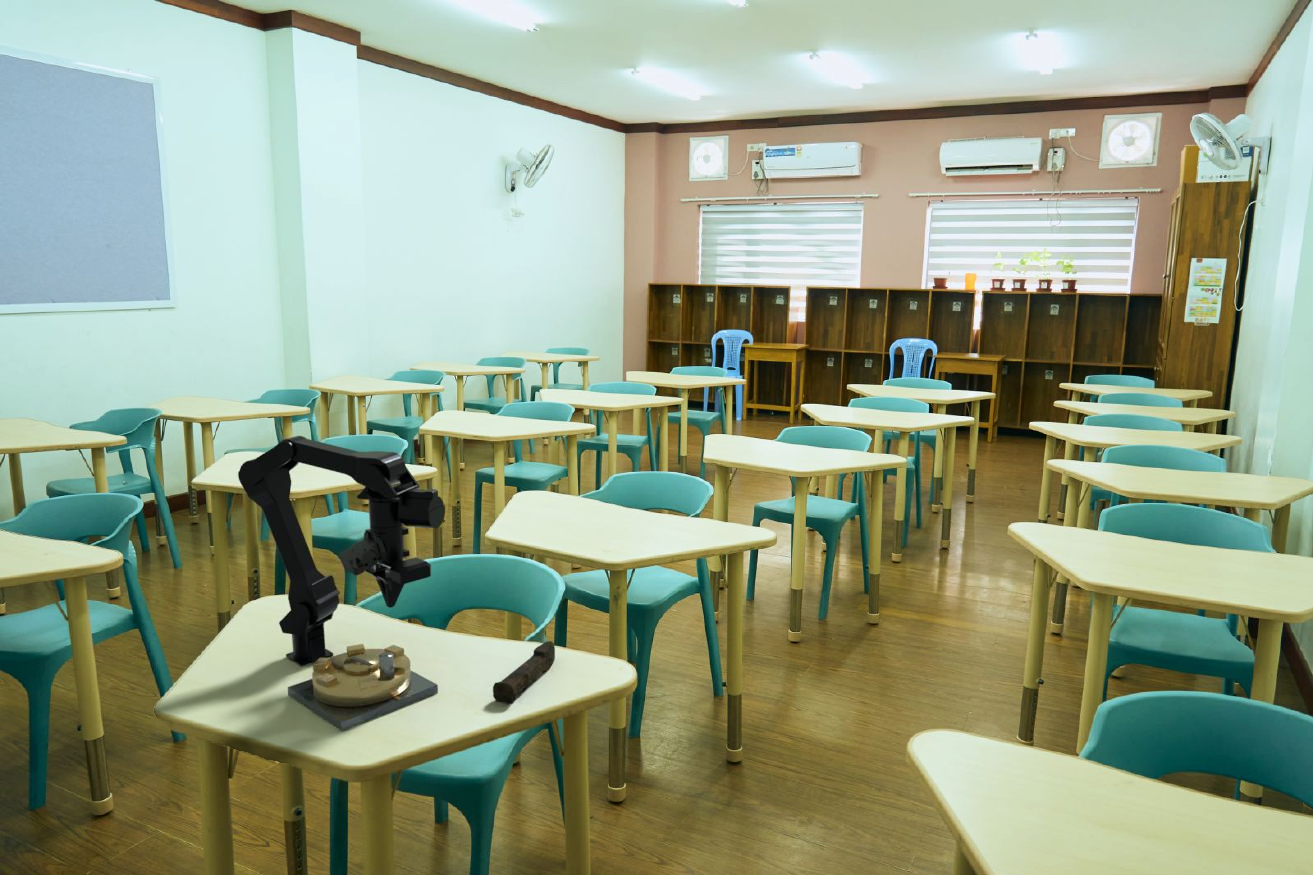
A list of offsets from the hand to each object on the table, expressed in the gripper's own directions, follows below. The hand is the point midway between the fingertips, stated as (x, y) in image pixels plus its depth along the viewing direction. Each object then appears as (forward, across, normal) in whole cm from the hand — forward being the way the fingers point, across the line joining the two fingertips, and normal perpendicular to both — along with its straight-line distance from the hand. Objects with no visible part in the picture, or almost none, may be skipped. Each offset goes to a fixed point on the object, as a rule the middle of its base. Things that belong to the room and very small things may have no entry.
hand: (390, 606), depth 161 cm
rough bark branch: (+12, +21, +14) cm, 28 cm away
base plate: (+12, +5, -9) cm, 16 cm away
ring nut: (+10, +5, -9) cm, 14 cm away
